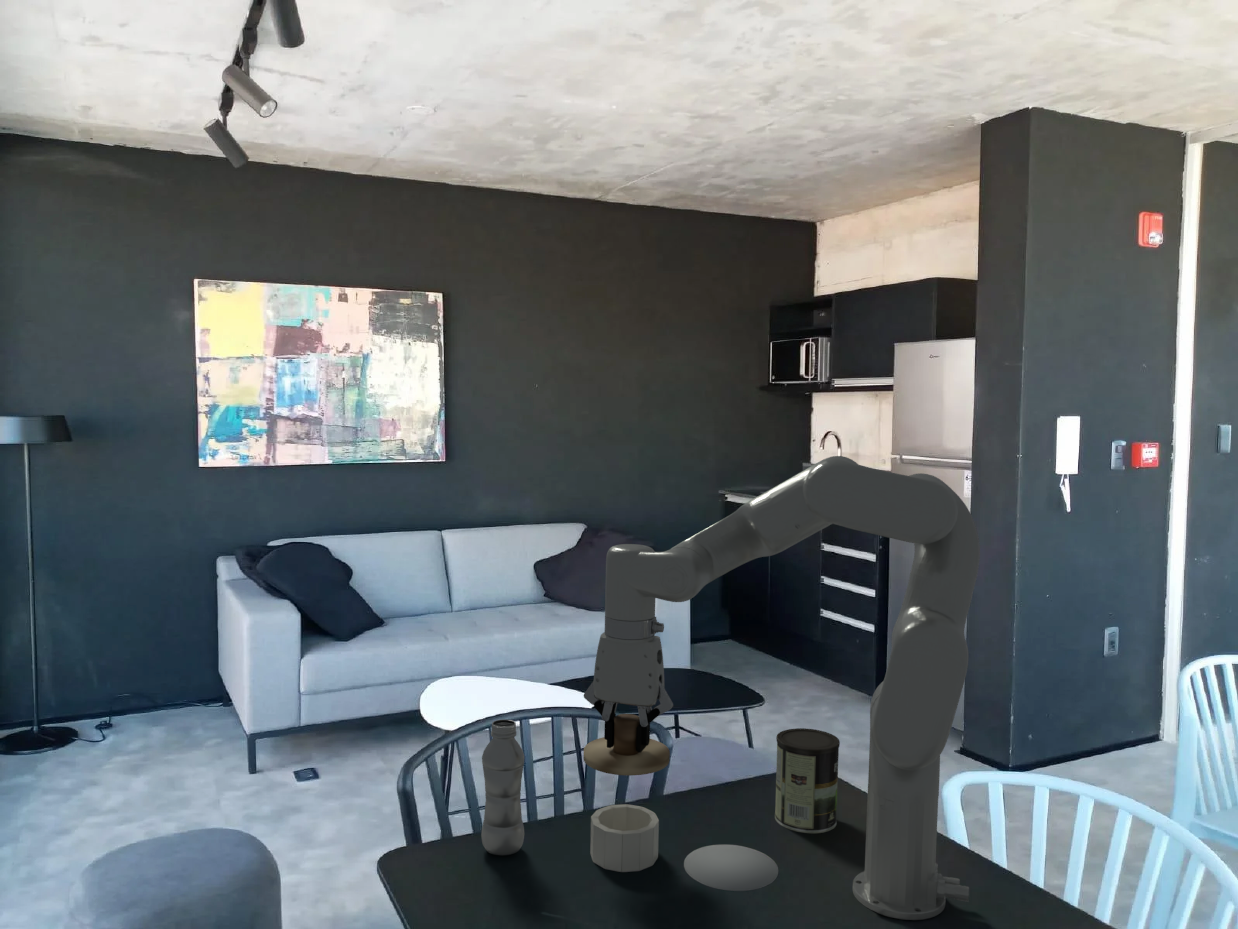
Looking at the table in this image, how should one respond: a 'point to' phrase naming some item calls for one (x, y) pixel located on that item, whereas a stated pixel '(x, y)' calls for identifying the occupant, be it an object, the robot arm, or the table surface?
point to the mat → (731, 867)
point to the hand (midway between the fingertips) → (626, 745)
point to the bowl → (624, 838)
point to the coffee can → (806, 780)
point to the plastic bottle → (503, 790)
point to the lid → (626, 751)
